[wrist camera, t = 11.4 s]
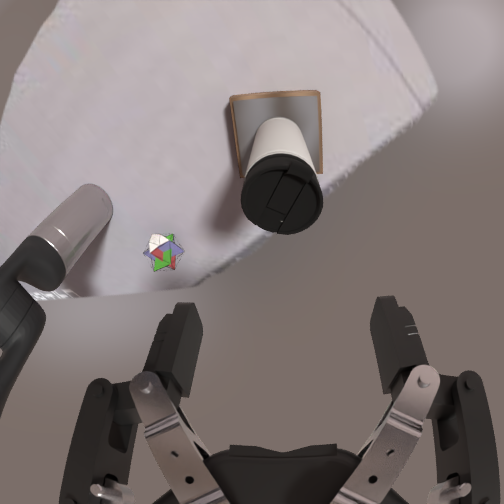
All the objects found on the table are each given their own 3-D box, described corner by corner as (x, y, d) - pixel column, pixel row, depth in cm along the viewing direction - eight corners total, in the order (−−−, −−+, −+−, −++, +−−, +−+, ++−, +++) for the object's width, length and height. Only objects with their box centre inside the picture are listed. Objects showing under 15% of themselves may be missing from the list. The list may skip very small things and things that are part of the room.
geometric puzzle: (195, 263, 53) (170, 266, 46) (168, 274, 56) (142, 278, 48) (183, 227, 54) (158, 226, 46) (158, 240, 56) (131, 240, 49)
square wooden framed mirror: (242, 169, 44) (239, 179, 41) (232, 95, 37) (228, 98, 33) (319, 165, 42) (323, 175, 39) (316, 90, 35) (320, 92, 32)
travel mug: (311, 126, 35) (342, 185, 19) (290, 166, 39) (300, 253, 23) (268, 106, 34) (261, 148, 18) (248, 148, 38) (226, 224, 22)
